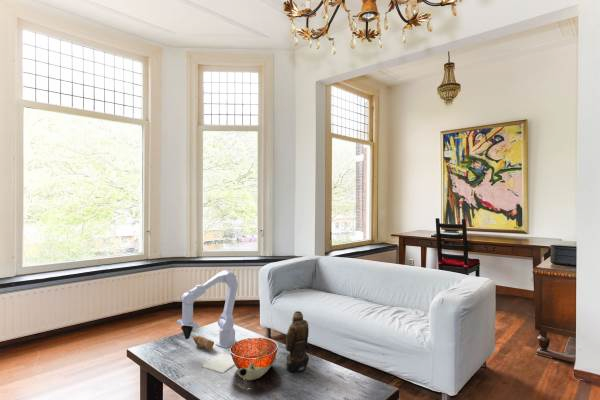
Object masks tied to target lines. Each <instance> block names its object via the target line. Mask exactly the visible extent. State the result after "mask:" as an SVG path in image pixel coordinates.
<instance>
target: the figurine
mask: <svg viewBox="0 0 600 400" xmlns="http://www.w3.org/2000/svg"><path fill="white" fill-rule="evenodd" d="M192 339H193V341H194V343H195V344H196V347H197V348H202V349H207V350H209V351H212V350H213V347H214V344H215V341H214V340H211V339H208V338H206V337H203V336H200V335H193V336H192Z"/></svg>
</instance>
